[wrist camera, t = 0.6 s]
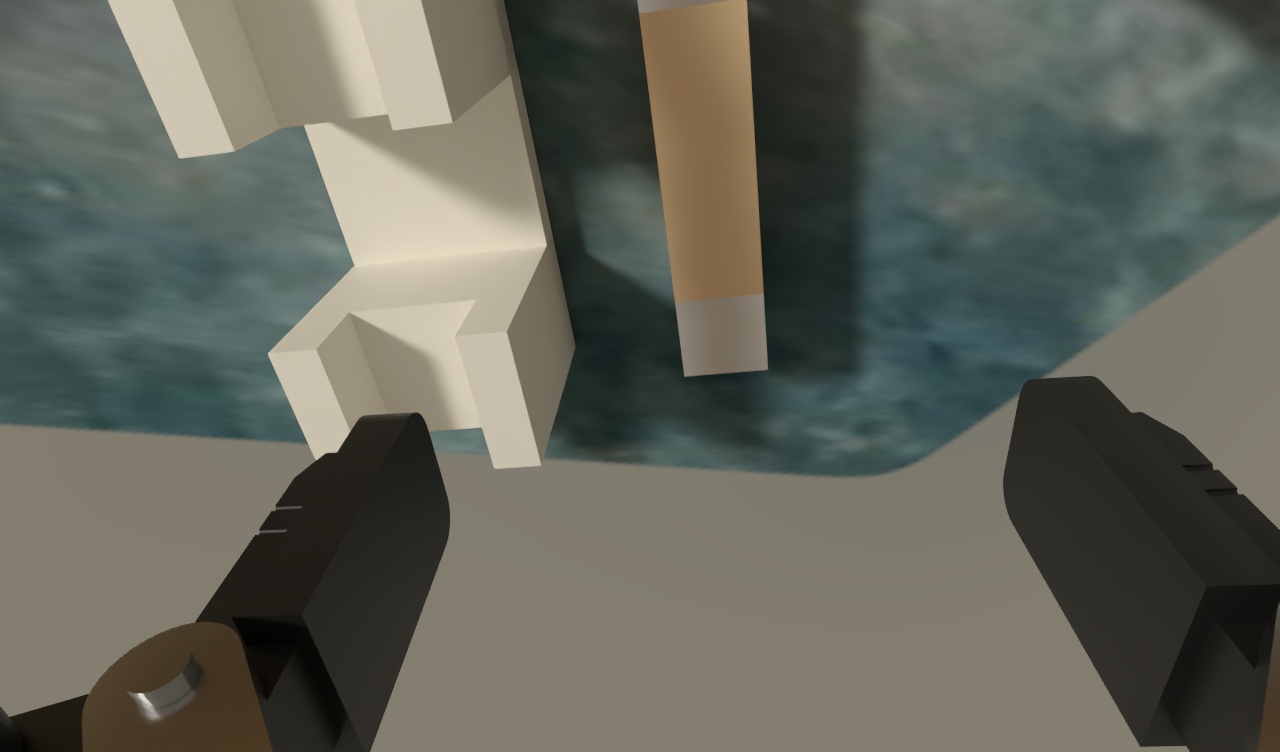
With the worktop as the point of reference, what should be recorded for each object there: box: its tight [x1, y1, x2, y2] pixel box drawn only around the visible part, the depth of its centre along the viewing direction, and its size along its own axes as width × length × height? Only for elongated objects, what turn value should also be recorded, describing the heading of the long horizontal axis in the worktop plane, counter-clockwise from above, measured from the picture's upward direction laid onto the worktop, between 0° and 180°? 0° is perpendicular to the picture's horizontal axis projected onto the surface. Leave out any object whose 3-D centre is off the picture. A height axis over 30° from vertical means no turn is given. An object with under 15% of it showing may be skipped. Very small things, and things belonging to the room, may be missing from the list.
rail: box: [637, 0, 768, 377], centre depth 25 cm, size 3×15×4 cm, turn 8°
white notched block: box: [108, 0, 576, 469], centre depth 24 cm, size 8×16×8 cm, turn 8°
